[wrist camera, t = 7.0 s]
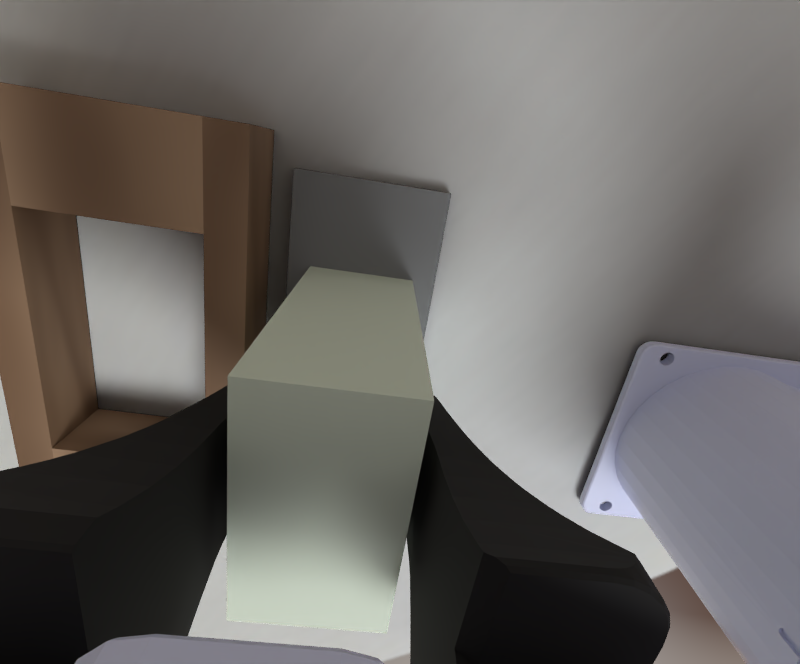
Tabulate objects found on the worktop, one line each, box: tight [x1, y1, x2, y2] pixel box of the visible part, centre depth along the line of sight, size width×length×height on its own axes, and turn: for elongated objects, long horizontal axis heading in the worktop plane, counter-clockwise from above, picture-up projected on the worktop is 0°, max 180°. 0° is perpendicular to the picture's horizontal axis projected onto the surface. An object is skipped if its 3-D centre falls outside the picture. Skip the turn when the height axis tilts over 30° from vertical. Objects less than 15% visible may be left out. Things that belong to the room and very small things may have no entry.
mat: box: [286, 168, 451, 341], centre depth 16 cm, size 5×12×1 cm, turn 171°
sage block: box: [227, 266, 434, 634], centre depth 12 cm, size 4×6×8 cm, turn 171°
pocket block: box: [0, 82, 274, 467], centre depth 15 cm, size 8×14×2 cm, turn 171°
